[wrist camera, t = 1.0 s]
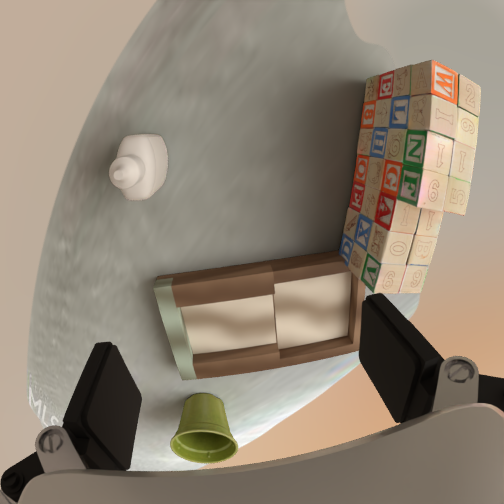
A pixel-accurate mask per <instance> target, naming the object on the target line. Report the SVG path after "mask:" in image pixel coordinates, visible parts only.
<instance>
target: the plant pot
mask: <svg viewBox="0 0 504 504" xmlns="http://www.w3.org/2000/svg"><path fill="white" fill-rule="evenodd" d="M170 447H171V449H172V451H173V452H174V453H175V454H176V455H178V456H179V457H181V458H183V459H185V460H188V461H192V462H197V463H218V462H222V461H225V460H227V459H230V458H231V457H233V456H234V455H235V454H236V453H237V451H238V444H237V442H236V441H235V439H234V438H233V436H232V434H231V433H230V429H229V425H228V421H227V417H226V413H225V409H224V404H223V402H222V401H221V399H218V398H216V397H215V396H213V395H211V394H206V393H200V394H195V395H192V396H191V397H190V398H189V399H187V400H186V401H185V404H184V408H183V412H182V416H181V420H180V424H179V428H178V430H177V432H176V434H175V436H174V437H173V438H172V439H171V442H170Z"/></svg>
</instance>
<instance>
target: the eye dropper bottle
mask: <svg viewBox="0 0 504 504" xmlns="http://www.w3.org/2000/svg"><path fill="white" fill-rule="evenodd" d="M109 170H110V171H109V175H110V176H109V177H110V180H111V181H112V183H113V184H114V185H115V186H116V187H119V188H120V189H121V191H122V193H123V195H124V196H125V198H126V199H127V200H130V201H138V200H145V199H148V198H149V197H151V196H152V195H153V194H154V193H155V192H156V191H157V190H158V189H159V188H160V187H161V186H162V185H163V184H164V181H165V178H166V175H167V170H168V154H167V149H166V145H165V143H164V140H163V138H162V137H161V136H160V135H157V134H138V135H130V136H126V137H124V139H123V140H122V142H121V144H120V146H119V149H118V153H117V157H116V159H115V160H114V162H113V163H112V165H111V166H110V169H109Z"/></svg>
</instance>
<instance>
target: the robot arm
mask: <svg viewBox="0 0 504 504" xmlns="http://www.w3.org/2000/svg"><path fill="white" fill-rule="evenodd" d="M359 359H360V362H361V364H362V366H363V367H364V369H365V371H366V372H367V374H368V376H369V377H370V379H371V381H372V382H373V384H374V386H375V387H376V389H377V391H378V393H379V395H380V396H381V398H382V400H383V401H384V403H385V405H386V407H387V408H388V410H389V412H390V414H391V415H392V417H393V419H394V421H395V422H396V423H399V422H400V423H401V424H399V425H396V426H394V427H391V428H388V429H386V430H383V431H380V432H377V433H374V434H371V435H368V436H365V437H362V438H359V439H356V440H353V441H350V442H346V443H343V444H340V445H337V446H333V447H329V448H326V449H322V450H318V451H314V452H310V453H306V454H301V455H297V456H292V457H287V458H282V459H277V460H272V461H266V462H261V463H254V464H248V465H241V466H233V467H224V468H215V469H203V470H187V471H126V470H128V469H129V468H130V465H131V459H132V452H133V446H134V440H135V434H136V429H137V423H138V418H139V412H140V407H141V402H142V397H141V393H140V391H139V389H138V388H137V386H136V384H135V382H134V380H133V378H132V376H131V374H130V372H129V370H128V368H127V366H126V364H125V362H124V360H123V358H122V356H121V354H120V352H119V350H118V348H117V346H116V345H113V344H112V343H111V342H101V343H96V344H95V346H94V348H93V350H92V352H91V354H90V357H89V359H88V361H87V363H86V365H85V368H84V370H83V372H82V374H81V377H80V379H79V381H78V384H77V386H76V388H75V391H74V393H73V396H72V398H71V401H70V403H69V405H68V408H67V411H66V413H65V416H64V418H63V422H64V423H63V426H62V427H60V426H56V425H55V426H49V427H47V428H45V429H44V430H42V431H41V432H40V433H39V435H38V436H37V438H36V442H35V447H36V452H34V453H33V454H31V455H30V456H28V457H26V458H25V459H23V460H22V461H20V462H18V463H17V464H15V465H14V466H12V467H10V468H9V469H7V470H6V471H5V472H4V474H3V475H2V478H1V490H0V504H504V378H498V377H491V376H486V375H480V374H479V372H478V368H477V366H476V364H475V363H474V362H473V361H472V360H470V359H468V358H466V357H462V356H453V357H449V358H448V359H446V360H444V359H443V358H442V357H441V355H440V354H439V353H438V352H437V351H436V350H435V349H434V348H433V347H432V345H431V344H430V343H429V342H428V341H427V340H426V339H425V337H424V336H423V335H422V334H421V333H420V332H419V331H418V330H417V329H416V328H415V327H414V325H413V324H412V323H411V322H410V321H408V320H407V319H406V318H405V317H404V316H403V315H402V314H401V312H400V311H399V310H398V309H397V308H396V307H395V306H394V305H393V304H392V303H391V302H390V301H389V300H388V299H387V298H386V297H385V296H384V295H383V294H382V293H376V294H372V295H369V296H367V297H366V300H364V301H363V302H362V312H361V330H360V344H359Z"/></svg>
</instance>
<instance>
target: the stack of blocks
mask: <svg viewBox="0 0 504 504" xmlns="http://www.w3.org/2000/svg"><path fill="white" fill-rule="evenodd" d="M480 91H481V88H480V86H478V85H477V84H475V83H474V82H472V81H470V80H469V79H467V78H466V77H464V76H462V75H461V74H457V73H456V72H455V71H453V70H451V69H450V68H448V67H446V66H444V65H442V64H440V63H438V62H436V61H434V60H429V61H425V62H422V63H419V64H415V65H409V66H405V67H402V68H398V69H396V70H393V71H390V72H387V73H384V74H381V75H376V76H373V77H370V78H368V79H367V81H366V91H365V99H364V104H363V111H362V119H361V129H360V134H359V141H358V148H357V161H356V167H355V173H354V182H353V188H352V193H351V199H350V204H349V207H348V210H347V216H346V221H345V225H344V231H343V236H342V241H341V245H340V250H339V255H340V256H342V257H343V258H344V259H345V260H346V261H345V263H344V264H345V265H346V266H347V267H348V268H349V269H350V270H351V272H352V273H353V274H354V275H355V276H356V277H357V278H358V279H360V280H361V281H362V282H363V283H364V284H365V285H366V286H367V287H368V288H369V289H370V290H371V291H372V292H373V293H390V294H397V293H420V292H421V290H422V287H423V284H424V281H425V277H426V274H427V271H428V266H429V265H430V262H431V259H432V256H433V252H434V248H435V245H436V241H437V236H438V234H439V229H440V226H441V220H442V216H443V211H446V212H451V213H456V214H459V215H463V216H464V215H465V211H466V207H467V202H468V197H469V190H470V185H471V183H470V182H471V178H472V173H473V165H474V159H475V149H476V143H477V134H478V133H477V132H478V120H479V119H478V117H479V114H480V95H481V92H480Z"/></svg>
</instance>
